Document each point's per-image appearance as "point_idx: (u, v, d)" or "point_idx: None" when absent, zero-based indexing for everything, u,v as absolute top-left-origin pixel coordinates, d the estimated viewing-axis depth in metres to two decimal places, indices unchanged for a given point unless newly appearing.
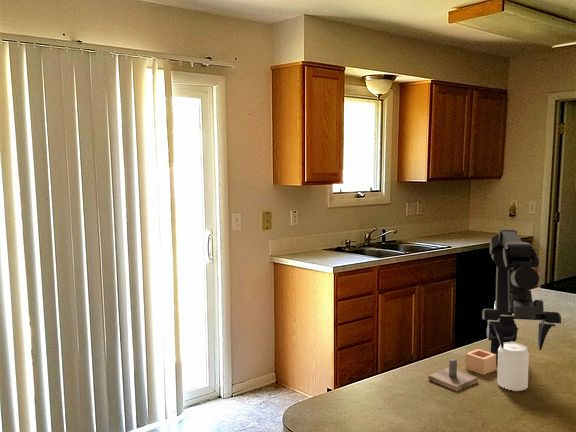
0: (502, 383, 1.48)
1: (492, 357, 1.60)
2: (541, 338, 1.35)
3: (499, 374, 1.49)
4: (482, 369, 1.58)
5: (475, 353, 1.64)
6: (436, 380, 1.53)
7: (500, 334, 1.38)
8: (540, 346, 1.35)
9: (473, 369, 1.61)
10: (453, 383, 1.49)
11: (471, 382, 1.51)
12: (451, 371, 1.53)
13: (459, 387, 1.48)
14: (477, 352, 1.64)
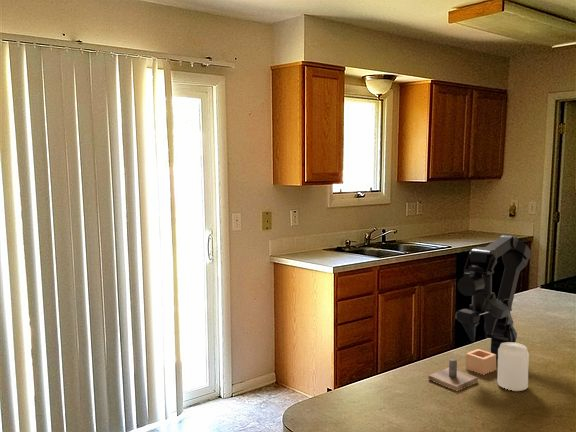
0: (502, 383, 1.48)
1: (492, 357, 1.60)
2: (493, 326, 1.63)
3: (499, 374, 1.49)
4: (482, 369, 1.58)
5: (475, 353, 1.64)
6: (436, 380, 1.53)
7: (474, 331, 1.57)
8: (492, 332, 1.63)
9: (473, 369, 1.61)
10: (453, 383, 1.49)
11: (471, 382, 1.51)
12: (451, 371, 1.53)
13: (459, 387, 1.48)
14: (477, 352, 1.64)
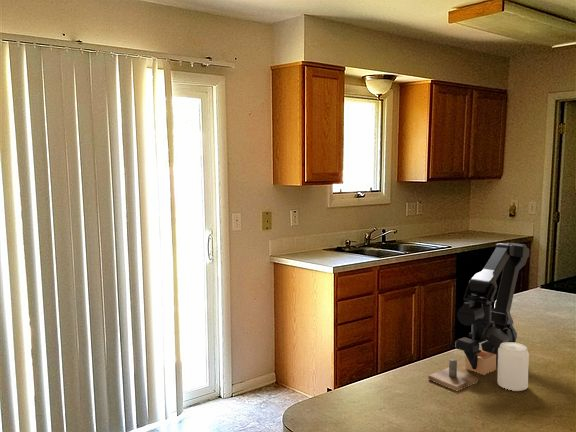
0: (502, 383, 1.48)
1: (492, 357, 1.60)
2: None
3: (499, 374, 1.49)
4: (482, 369, 1.58)
5: None
6: (436, 380, 1.53)
7: (476, 359, 1.59)
8: None
9: (473, 369, 1.61)
10: (453, 383, 1.49)
11: (471, 382, 1.51)
12: (451, 371, 1.53)
13: (459, 387, 1.48)
14: None
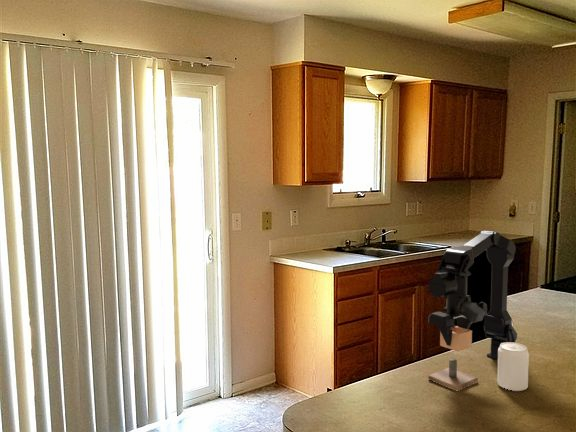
0: (502, 383, 1.48)
1: (467, 333, 1.51)
2: None
3: (499, 374, 1.49)
4: (456, 345, 1.49)
5: None
6: (436, 380, 1.53)
7: (450, 334, 1.50)
8: None
9: (447, 345, 1.52)
10: (453, 383, 1.49)
11: (471, 382, 1.51)
12: (451, 371, 1.53)
13: (459, 387, 1.48)
14: None
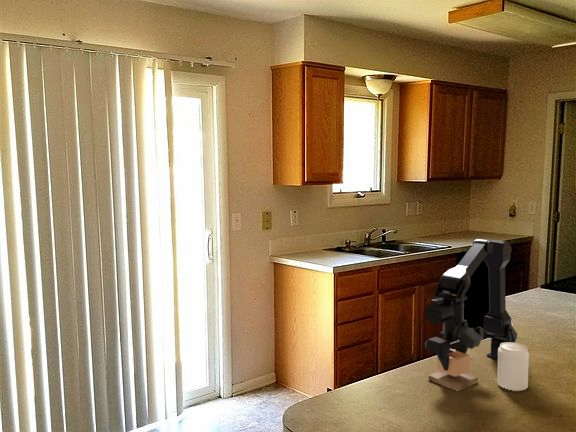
0: (502, 383, 1.48)
1: (465, 358, 1.51)
2: None
3: (499, 374, 1.49)
4: (454, 370, 1.50)
5: None
6: (436, 380, 1.53)
7: (448, 360, 1.50)
8: None
9: (445, 370, 1.52)
10: (453, 383, 1.49)
11: (471, 382, 1.51)
12: None
13: (459, 387, 1.48)
14: None
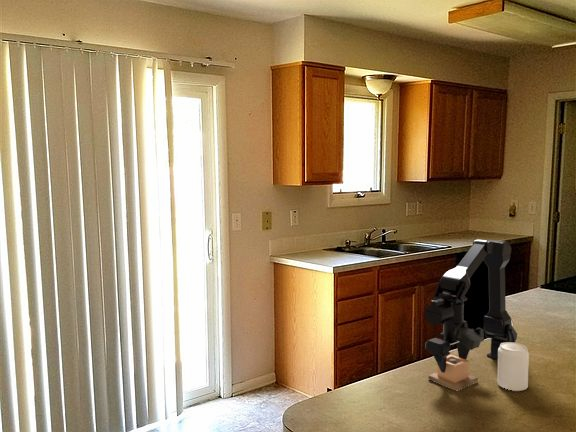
0: (502, 383, 1.48)
1: (464, 363, 1.52)
2: (466, 355, 1.55)
3: (499, 374, 1.49)
4: (454, 376, 1.50)
5: (447, 359, 1.56)
6: (436, 380, 1.53)
7: (445, 362, 1.49)
8: None
9: (445, 376, 1.52)
10: (453, 383, 1.49)
11: (471, 382, 1.51)
12: None
13: (459, 387, 1.48)
14: (449, 358, 1.56)
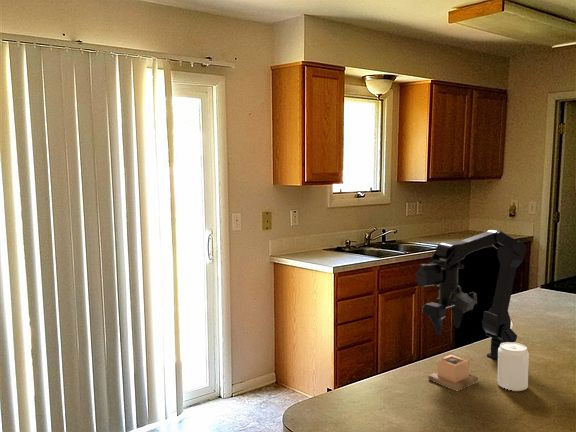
0: (502, 383, 1.48)
1: (464, 363, 1.52)
2: (460, 319, 1.65)
3: (499, 374, 1.49)
4: (454, 376, 1.50)
5: (447, 359, 1.56)
6: (436, 380, 1.53)
7: (441, 324, 1.59)
8: (459, 325, 1.66)
9: (445, 376, 1.52)
10: (453, 383, 1.49)
11: (471, 382, 1.51)
12: None
13: (459, 387, 1.48)
14: (449, 358, 1.56)
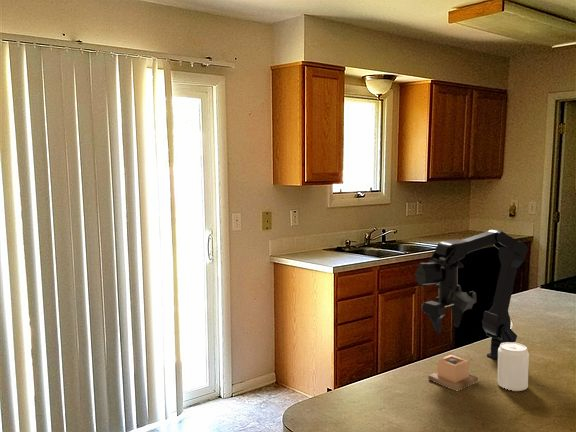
0: (502, 383, 1.48)
1: (464, 363, 1.52)
2: (460, 318, 1.66)
3: (499, 374, 1.49)
4: (454, 376, 1.50)
5: (447, 359, 1.56)
6: (436, 380, 1.53)
7: (440, 323, 1.60)
8: (458, 324, 1.66)
9: (445, 376, 1.52)
10: (453, 383, 1.49)
11: (471, 382, 1.51)
12: None
13: (459, 387, 1.48)
14: (449, 358, 1.56)
